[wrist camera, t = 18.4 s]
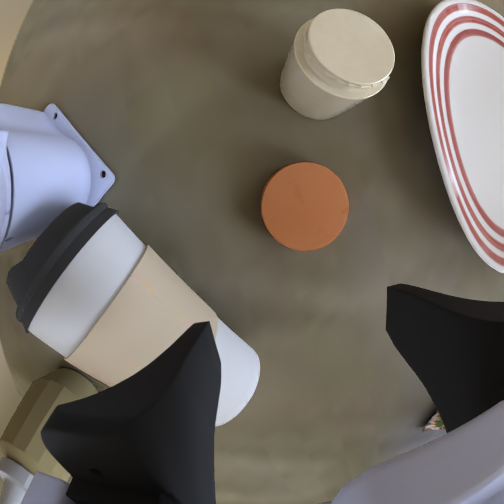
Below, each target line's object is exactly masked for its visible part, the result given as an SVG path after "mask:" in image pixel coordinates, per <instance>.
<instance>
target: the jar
mask: <svg viewBox="0 0 504 504" xmlns="http://www.w3.org/2000/svg"><path fill="white" fill-rule="evenodd" d="M394 62H395V53H394V49H393V45H392V43H391V41H390V39H389V37H388V36H387V34H386V33H385V31H384V30H383V29H382V28H381V27H380V26H379V25H378V24H377V23H376V22H374V21H373V20H372V19H370V18H369V17H367V16H365V15H363V14H361V13H359V12H356V11H353V10H348V9H340V8H339V9H329V10H326V11H323V12H321V13H319V14H318V15H317V16H315V17H314V18H312V19H310V20H308V21H307V22H306V23H304V24H303V25H302V26H301V27H300V29H299V30H298V31H297V34H296V36H295V38H294V41H293V43H292V46H291V49H290V51H289V54H288V56H287V59H286V62H285V64H284V67H283V69H282V72H281V76H280V88H281V92H282V94H283V96H284V98H285V100H286V101H287V103H288V104H289V105H290V106H291V107H292V108H293V109H294V110H295V111H297V112H298V113H300V114H302V115H303V116H306V117H308V118H312V119H317V120H326V119H331V118H334V117H337V116H338V115H340V114H342V113H344V112H345V111H347V110H349V109H351V108H352V107H354V106H356V105H357V104H359V103H361V102H363V101H364V100H366V99H368V98H370V97H372V96H373V95H375V94H377V93H378V92H379V91H380V90H381V89H382V88H383V87H384V85H385V84H386V82H387V80H388V79H389V78H390V77H389V75H390V73H391V72H392V69H393V67H394Z"/></svg>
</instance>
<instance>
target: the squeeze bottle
mask: <svg viewBox="0 0 504 504" xmlns="http://www.w3.org/2000/svg"><path fill="white" fill-rule="evenodd" d="M96 393H98V391H97V389H96V388H95V387H94V386H93V384H92V383H91V382H90V381H89V380H88V379H87V378H85V377H84V376H82V375H81V374H80V373H78V372H76V371H74V370H71V369H67V368H61V369H58V370H56V371H54V372H52V373H50V374H48V375H46V376H44V377H41V378H39V379H38V380H36V381H34V382H33V383H32V384H31V386H30V388H29V389H28V391H27V392H26V394H25V396H24V397H23V399H22V401H21V402H20V404H19V406H18V408H17V410H16V411H15V413H14V415H13V416H12V418H11V420H10V422H9V424H8V425H7V427H6V429H5V431H4V433H3V435H2V437H1V439H0V447H1V450H2V453H3V454H4V456H5V457H2V458H1V460H0V476H1V477H2V478H3V479H4V482H3V487H2V491H1V496H0V504H21V502H22V500H23V498H24V495H25V493H26V491H27V489H28V487H29V485H30V484H31V482H32V480H33V478H34V476H35V474H36V472H37V471H40V472H43V473H45V474H48V475H51V476H54V477H57V478H59V479H62V480H64V481H65V482H67V480H68V479H69V477H70V476H71V475H70V474H69V473H68V472H67V471H66V470H65V469H64V468H63V467H62V466H61V465H60V463H59V462H58V461H57V460H56V459H55V458H54V457H53V456H52V455H51V454H50V452H49V451H48V450H47V448H46V447H45V445H44V443H43V441H42V439H41V433H40V432H41V430H42V428H43V427H44V425H45V423H46V422H47V420H48V419H49V417H50V415H51V414H52V412H53V411H54V409H55V408H56V406H57V405H60V404H65V403H68V402H72V401H75V400H79V399H82V398H85V397H88V396H91V395H94V394H96Z"/></svg>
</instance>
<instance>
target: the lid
mask: <svg viewBox="0 0 504 504" xmlns="http://www.w3.org/2000/svg"><path fill="white" fill-rule="evenodd" d="M260 210H261V215H262V218H263V221H264V223H265V226H266V228H267V229H268V231H269V233H270V234H271V235H272V236H273V237H274V238H275V240H277V241H278V242H279V243H280V244H282V245H284V246H285V247H288V248H290V249H294V250H298V251H311V250H316V249H319V248H322V247H324V246H326V245H328V244H329V243H330V242H332V241H333V240H334V239H335V238H336V237H337V236H338V235H339V234H340V232H341V231H342V229H343V227H344V225H345V223H346V220H347V217H348V211H349V202H348V196H347V192H346V189H345V187H344V185H343V183H342V182H341V180H340V179H339V178H338V177H337V175H336V174H334V173H333V172H332V171H331V170H329V169H328V168H326V167H324V166H322V165H319V164H316V163H311V162H299V163H295V164H290V165H287V166H285V167H283V168H281V169H279V170H278V171H276V172H275V173H274V174H273V175H272V176H271V177H270V178H269V179H268V181H267V182H266V184H265V186H264V188H263V190H262V194H261V199H260Z"/></svg>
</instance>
